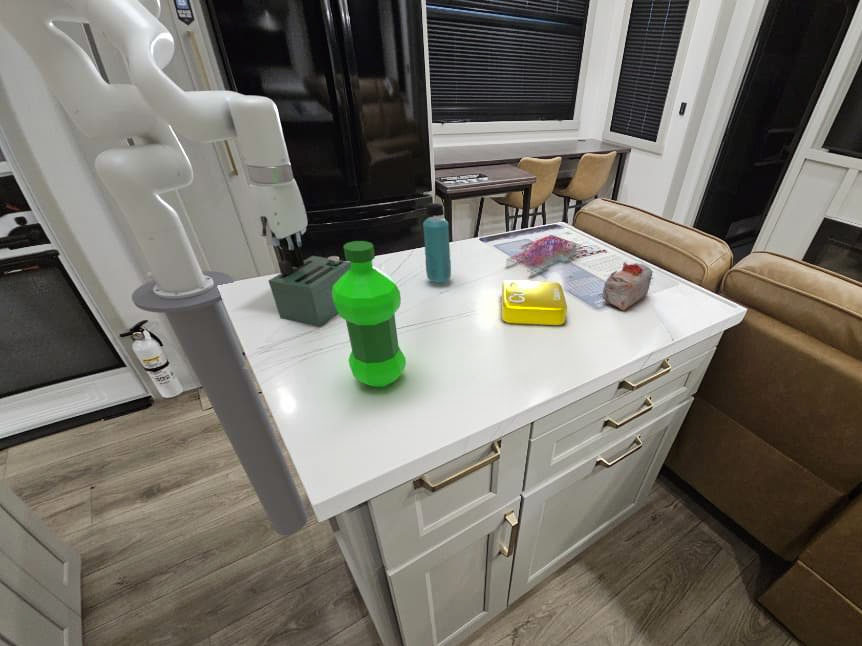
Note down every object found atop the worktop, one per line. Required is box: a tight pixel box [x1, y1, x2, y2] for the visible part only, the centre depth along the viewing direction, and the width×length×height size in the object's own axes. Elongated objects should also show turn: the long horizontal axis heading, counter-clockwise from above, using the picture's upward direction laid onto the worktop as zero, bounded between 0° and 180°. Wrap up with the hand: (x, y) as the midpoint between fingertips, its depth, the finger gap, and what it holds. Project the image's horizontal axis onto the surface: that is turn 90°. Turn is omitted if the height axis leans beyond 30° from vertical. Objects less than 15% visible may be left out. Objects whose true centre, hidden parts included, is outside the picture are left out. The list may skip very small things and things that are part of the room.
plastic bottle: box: [331, 240, 407, 388], centre depth 70 cm, size 10×10×25 cm
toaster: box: [268, 255, 351, 327], centre depth 94 cm, size 10×15×9 cm, turn 166°
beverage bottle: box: [422, 202, 452, 283], centre depth 105 cm, size 6×7×20 cm
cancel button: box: [327, 255, 340, 267], centre depth 95 cm, size 2×2×2 cm
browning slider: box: [277, 259, 294, 275], centre depth 89 cm, size 2×2×2 cm
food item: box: [601, 261, 654, 311], centre depth 107 cm, size 14×8×10 cm, turn 140°
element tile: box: [501, 279, 568, 326], centre depth 101 cm, size 15×15×5 cm
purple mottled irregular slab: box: [505, 234, 583, 278], centre depth 128 cm, size 30×15×5 cm, turn 140°
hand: (295, 265), depth 91 cm, fingers closed
